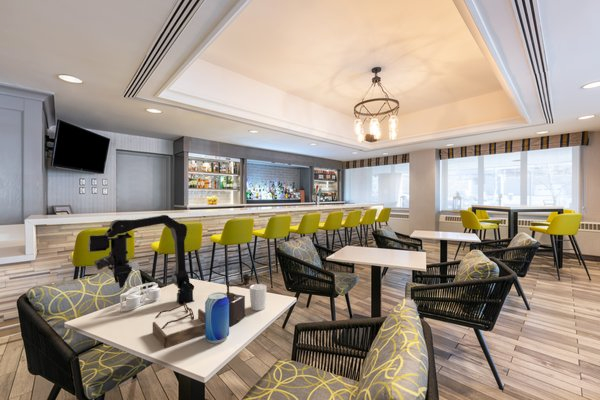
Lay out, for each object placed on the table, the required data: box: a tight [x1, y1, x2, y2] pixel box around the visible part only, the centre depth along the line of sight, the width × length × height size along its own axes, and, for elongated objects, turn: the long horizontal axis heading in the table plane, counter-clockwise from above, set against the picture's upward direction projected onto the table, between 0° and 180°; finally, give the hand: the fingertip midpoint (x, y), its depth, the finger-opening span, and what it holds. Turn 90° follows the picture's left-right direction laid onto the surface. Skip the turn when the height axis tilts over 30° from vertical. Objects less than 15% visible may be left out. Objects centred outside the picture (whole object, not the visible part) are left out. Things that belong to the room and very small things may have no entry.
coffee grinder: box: [224, 273, 252, 328], centre depth 118 cm, size 16×11×18 cm
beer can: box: [204, 292, 230, 344], centre depth 100 cm, size 8×8×16 cm
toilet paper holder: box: [119, 281, 162, 312], centre depth 134 cm, size 20×11×7 cm, turn 155°
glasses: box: [154, 302, 195, 330], centre depth 116 cm, size 13×13×5 cm
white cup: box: [249, 283, 268, 311], centre depth 128 cm, size 8×8×10 cm
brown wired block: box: [152, 308, 205, 349], centre depth 105 cm, size 19×15×4 cm
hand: (119, 285), depth 117 cm, fingers open, 9 cm apart
